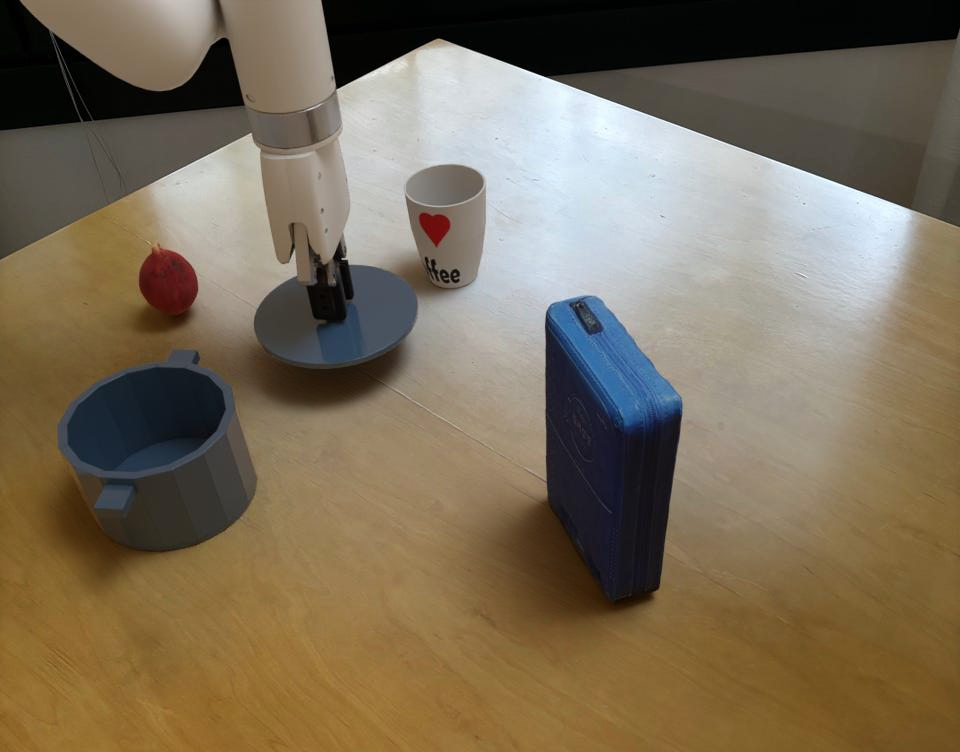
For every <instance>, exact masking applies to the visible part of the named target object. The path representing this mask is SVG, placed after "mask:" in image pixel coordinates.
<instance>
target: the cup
mask: <svg viewBox="0 0 960 752" xmlns="http://www.w3.org/2000/svg"><path fill="white" fill-rule="evenodd" d="M403 192H404V197H405V203H406V208H407V213H408V218H409V224H410V225H409V226H410V229H411V233H412V236H413V239H414V242H415V246H416V249H417V252H418V256H419V258H420V261H421V264H422V265H423V267H424V269H425V271H426V274H427V275H428V278H429V279H430V281H431V283H432V284H433V285H435V286H438V287H440V288H442V289H443V288H444V289H459V288H462V287H465V286H468V285H470V284H471V283H473V282H474V281H475V279H476V278H477V276H478V271H479V268H480V264H481V260H482V257H483V253H484V242H485V234H486V224H487V180H486V177H485V175H484V174H483V173H482V172H481V171H480V170H479V169H477V168H474V167H472V166H470V165H465V164H462V163H461V164H460V163H441V164H434V165H430V166H427V167H424V168H422V169H419V170H418V171H416V172H414V173H413V174H411V175H410V176H409V177H407V179H406V180H405V182H404V184H403Z"/></svg>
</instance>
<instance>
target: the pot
mask: <svg viewBox="0 0 960 752" xmlns="http://www.w3.org/2000/svg"><path fill="white" fill-rule="evenodd" d="M200 360H201V357H200V354H199V351H198V349H187V348H186V349H183V348H171V350H170V353H169V355H168V357H167V359H166V361H161V360H160V361H152V362H148V363H144V364H139V365H134V366H129V367H125V368H123V369H121V370H118V371H117V372H114V373H112V374H109V375H107V376H106V377H104V378H102V379H99V380H97V381H95V382H93V383H92V384H90V386H89V387H87V388H86V389H84V391H82V392H81V393H80V394H79V395H78V396H77V397H75V398H74V399H73V400H72V401H71V402H70V403H69V404H68V406H67V408H66V410H65V411H64V413H63V415H62V416H61V418H60V420H59V422H58V424H57V449H58V450H59V453H60V454H61V457H62V458H63V461H64V463H65V464H66V467H67V469H68V470H69V473H70V475H71V476H72V479H73V480H74V483H75V484H76V487H77V489H78V491H79V493H80V494H81V497H82V499H83V501H84V502H85V505H86V507H87V509H88V511H89V512H90V515H91V517H92V518H93V520H94V522H96V524H97V525H98V527H99V528H100V530H101V531H102V532H103V534H105V535H106V536H107V537H108V538H109V539H110V540H112V541H113V542H116V543H117V544H119V545H121V546H124V547H127V548H130V549H133V550H138V551H146V552H164V551H174V550H179V549H184V548H187V547H192V546H194V545H198V544H200V543H203V542H205V541H207V540H210V539H211V538H214V537H215V536H217V535H218V534H220V533H222V532H224V531H225V530H227V529H228V528H229V527H230V526H232V525H233V524H234V523H235V522H236V521H237V520H238V519H240V517H241V516H242V515H243V514H244V513H245V512H246V510H247V509H248V507H250V504H251V503H252V500H253V499H254V497H255V495H256V494H255V493H256V490H257V487H258V472H257V469H256V465H255V460H254V456H253V452H252V450H251V446H250V443H249V440H248V437H247V433H246V430H245V427H244V424H243V421H242V418H241V414H240V411H239V408H238V404H237V401H236V398H235V394H234V392H233V389H232V387H231V386H230V384H228V383H227V382H226V381H225V380H224V379H223V378H222V377H221V376H220V375H219V373H217V372H216V371H215V370H212V369H210V368H206V367H203V366H201V365H198V364H199V362H200Z"/></svg>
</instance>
